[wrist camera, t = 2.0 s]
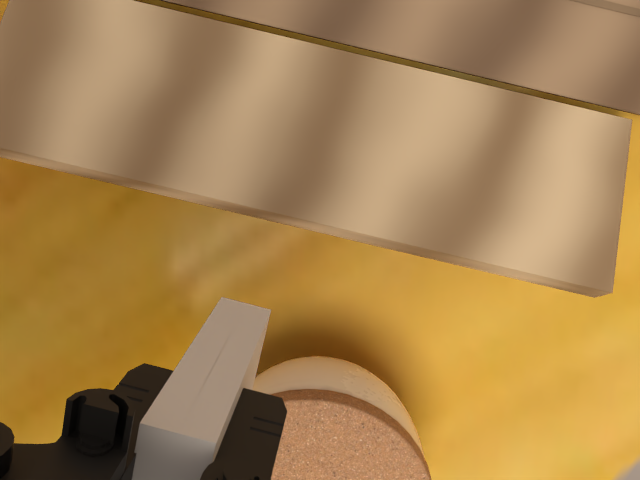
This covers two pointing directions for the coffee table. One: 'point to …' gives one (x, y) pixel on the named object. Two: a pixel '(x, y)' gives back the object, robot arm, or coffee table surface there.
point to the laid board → (479, 38)
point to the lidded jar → (341, 424)
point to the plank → (315, 138)
